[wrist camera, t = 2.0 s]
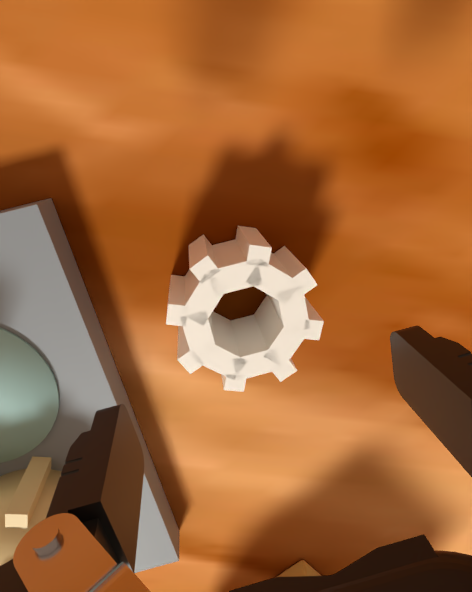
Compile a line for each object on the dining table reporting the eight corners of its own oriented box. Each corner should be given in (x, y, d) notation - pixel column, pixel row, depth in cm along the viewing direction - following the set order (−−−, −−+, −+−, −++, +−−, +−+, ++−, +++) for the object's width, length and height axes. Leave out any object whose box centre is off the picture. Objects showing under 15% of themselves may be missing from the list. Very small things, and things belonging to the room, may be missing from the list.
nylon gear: (285, 213, 21) (307, 229, 17) (307, 330, 23) (331, 368, 19) (155, 246, 20) (148, 270, 17) (190, 361, 23) (192, 405, 19)
